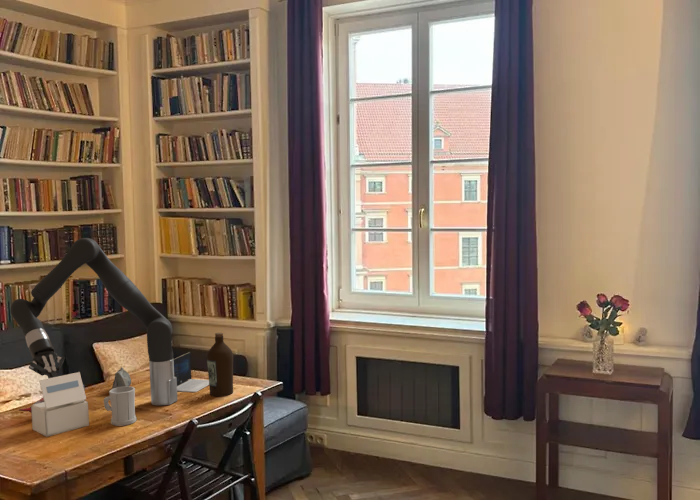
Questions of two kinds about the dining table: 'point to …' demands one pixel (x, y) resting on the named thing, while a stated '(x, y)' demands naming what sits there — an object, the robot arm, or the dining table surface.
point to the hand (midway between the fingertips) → (55, 382)
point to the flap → (62, 390)
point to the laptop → (186, 375)
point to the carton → (59, 417)
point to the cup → (121, 405)
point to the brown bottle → (220, 368)
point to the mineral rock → (121, 379)
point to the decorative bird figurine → (32, 405)
